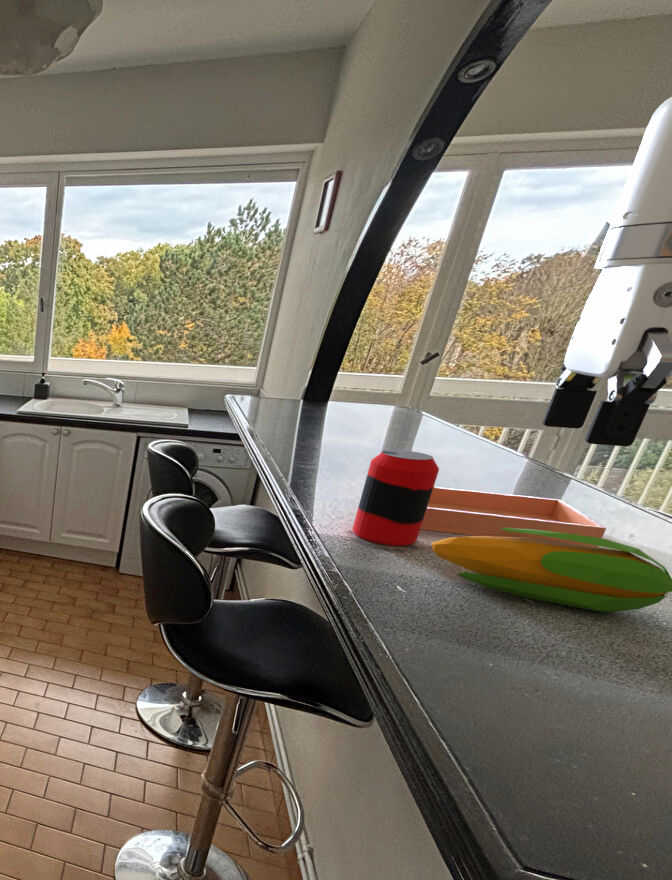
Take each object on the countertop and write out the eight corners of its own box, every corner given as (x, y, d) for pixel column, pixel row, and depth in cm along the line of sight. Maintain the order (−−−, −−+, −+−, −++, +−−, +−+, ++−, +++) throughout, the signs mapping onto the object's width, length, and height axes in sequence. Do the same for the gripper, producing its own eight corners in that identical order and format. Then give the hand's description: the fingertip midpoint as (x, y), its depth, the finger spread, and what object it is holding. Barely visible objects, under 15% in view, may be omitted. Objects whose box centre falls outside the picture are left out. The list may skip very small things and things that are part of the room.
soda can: (350, 524, 89) (371, 446, 84) (411, 533, 85) (437, 452, 81) (353, 540, 83) (375, 456, 78) (419, 550, 79) (447, 464, 75)
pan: (552, 519, 91) (561, 499, 89) (596, 551, 79) (606, 528, 78) (367, 499, 100) (372, 480, 99) (382, 524, 89) (388, 503, 88)
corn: (704, 562, 57) (442, 520, 68) (670, 633, 59) (422, 581, 70) (676, 544, 62) (439, 508, 73) (646, 609, 65) (421, 565, 76)
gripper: (792, 238, 45) (686, 457, 51) (659, 255, 60) (590, 424, 66) (657, 242, 48) (573, 448, 54) (562, 257, 63) (505, 418, 69)
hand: (582, 435), depth 60 cm, fingers open, 9 cm apart
